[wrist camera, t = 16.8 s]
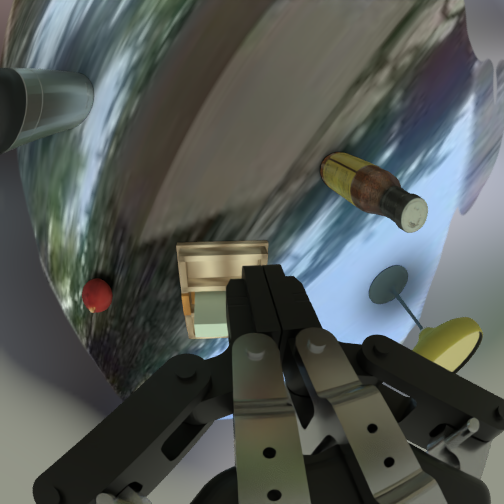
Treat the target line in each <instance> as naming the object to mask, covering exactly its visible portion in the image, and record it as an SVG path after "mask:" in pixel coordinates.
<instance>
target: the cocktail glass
mask: <svg viewBox="0 0 504 504" xmlns="http://www.w3.org/2000/svg"><path fill="white" fill-rule="evenodd" d="M407 279H408V273H407V271H406V269H405V268H404V267H402V266H398V265H397V266H391V267H389V268H387V269H385V270H384V271H382V272H381V273H380V274H379V275H378V276H377V277H376V278H375V279H374V281H373V282H372V284H371V286H370V290H369V297H370V299H371V301H372V302H374V303H376V304H383V303H387V302H389V301H391V300H393V299H394V298H395V297H396V298H397V299H398V300H399V302H400V303H401V304H402V305H403V307H404V308H405V309H406V310H407V312H408V313H409V314H410V316H411V317H412V318H413V320H414V321H415V323H416V324H417V325H418V327H419V328H420V330H421V331H420V333H419V341H418V343H417V345H416V346H415V347H414V349H413V350H412V351H414V352H416V353H418V354H419V355H421V356H423V357H425V358H427V359H429V360H431V361H432V362H434V363H436V364H438V365H440V366H442V367H444V368H445V369H447V370H449V371H451V372H453V373H455V374H456V373H457V372H458V371H459V370H460V369H461V368H462V367H463V366H464V365H465V364H466V363H467V362H468V361H469V360H470V358H471V357H472V356H473V355H474V353H475V352H476V350H477V349H478V347H479V345H480V343H481V341H482V337H483V333H482V330H481V328H480V327H479V325H478V324H477V323H476V322H475V321H474V320H473V319H471V318H468V317H462V318H456V319H452V320H450V321H447V322H445V323H443V324H441V325H439V326H438V327H436V328H430V327H424V328H423V327H422V326H421V325H420V323H419V322H418V320H417V319H416V318H415V316H414V315H413V314H412V312H411V311H410V309H409V308H408V307H407V305H406V304H405V303H404V301H403V300H402V299H401V297H400V296H399V294H400V293H401V292H402V290H403V289H404V287H405V285H406V283H407Z"/></svg>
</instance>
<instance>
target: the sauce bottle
mask: <svg viewBox="0 0 504 504" xmlns="http://www.w3.org/2000/svg"><path fill="white" fill-rule="evenodd" d="M320 174H321V177H322V179H323V181H324V182H325V184H326V185H328V187H330V188H331V189H332V190H334V191H335V192H336V193H338V194H339V195H341V196H342V197H344V198H345V199H346V200H348V201H349V202H351V203H352V204H353V205H355V206H356V207H357V208H359V209H360V210H362V211H364V212H367V213H371V214H377V215H382V216H386V217H387V218H390V219H391V220H393V221H394V222H395V223H396V225H397V226H398V227H399V228H400V229H402V230H403V231H405V232H407V233H412V232H415V231H418V230H419V229H420V228H421V227H422V226H423V225H424V223H425V221H426V218H427V213H428V206H427V203H426V202H425V200H424V199H422V198H421V197H419V196H418V195H416V194H410V193H408V192H407V191H405V190H404V189H403V188H401V185H400V183H399V180H398V179H397V178H396V177H395V176H394V175H392V174H391V173H390V172H388V171H386V170H384V169H381V168H380V167H378V166H376V165H374V164H371V163H369V162H367V161H364V160H362V159H359V158H357V157H354V156H352V155H349V154H347V153H341V152H335V153H332V154H330V155H329V156H327V157H326V158H325V159H324V160H323V162H322V164H321V169H320Z"/></svg>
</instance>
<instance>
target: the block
mask: <svg viewBox="0 0 504 504" xmlns="http://www.w3.org/2000/svg"><path fill="white" fill-rule="evenodd" d="M194 328H195V336H196V337H224V336H228V330H227V321H226V291H199V292H195V308H194Z"/></svg>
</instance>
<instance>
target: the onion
mask: <svg viewBox="0 0 504 504" xmlns="http://www.w3.org/2000/svg"><path fill="white" fill-rule="evenodd" d="M112 297H113V295H112V291H111V288H110V286H109V285H108V284H107V283H106V282H105V281H103V280H102V279H92V280H90V281H88V282H87V283H86V285H85V286H84V288H83V292H82V299H83V302H84V305H85V306H86V307H87V308H88V309H89V310H90V312H92V313H95V312H101V311H104V310H106V309H107V308H108V307H109V306H110V304H111V302H112Z"/></svg>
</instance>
